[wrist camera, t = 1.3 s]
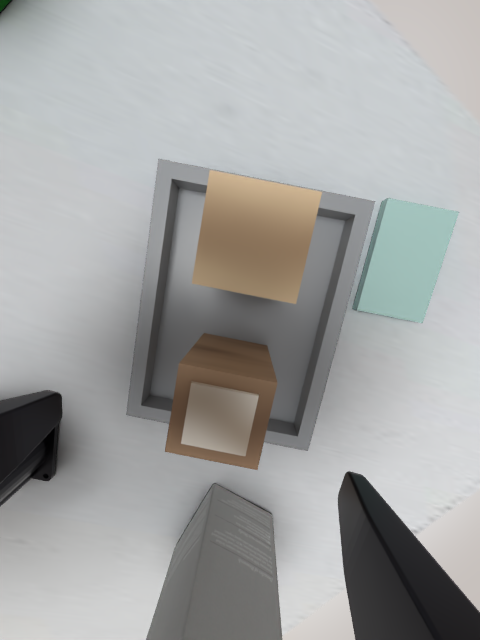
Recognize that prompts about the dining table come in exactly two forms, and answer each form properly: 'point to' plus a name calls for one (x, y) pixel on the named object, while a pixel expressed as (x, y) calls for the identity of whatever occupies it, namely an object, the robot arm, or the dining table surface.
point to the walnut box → (222, 401)
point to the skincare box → (221, 576)
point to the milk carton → (3, 4)
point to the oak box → (255, 236)
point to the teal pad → (404, 259)
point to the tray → (242, 305)
